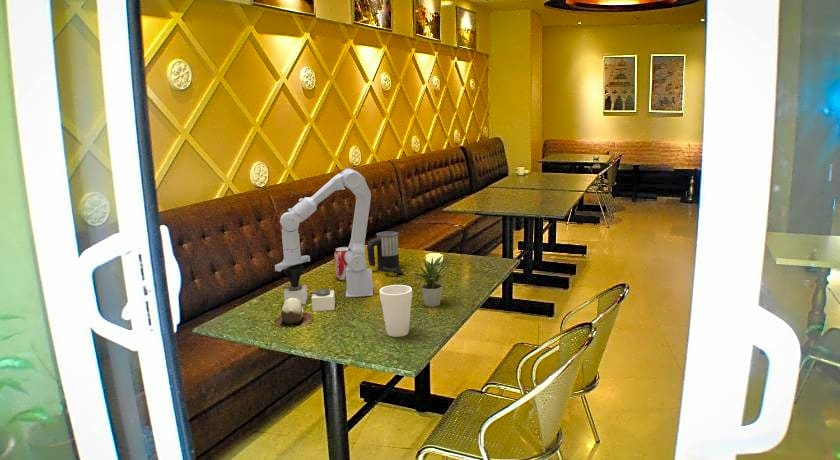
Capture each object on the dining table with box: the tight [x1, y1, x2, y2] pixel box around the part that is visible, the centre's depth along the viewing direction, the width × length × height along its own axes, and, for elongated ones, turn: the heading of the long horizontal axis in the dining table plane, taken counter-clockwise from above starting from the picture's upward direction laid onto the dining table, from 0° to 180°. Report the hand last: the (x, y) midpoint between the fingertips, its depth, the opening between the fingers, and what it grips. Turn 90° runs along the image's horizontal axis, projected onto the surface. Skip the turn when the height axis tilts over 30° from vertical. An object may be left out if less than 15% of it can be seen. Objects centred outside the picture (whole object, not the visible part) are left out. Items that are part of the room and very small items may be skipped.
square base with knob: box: [283, 284, 309, 305], centre depth 196 cm, size 7×7×4 cm
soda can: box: [333, 246, 349, 282], centre depth 220 cm, size 7×7×12 cm
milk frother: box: [366, 230, 404, 275], centre depth 228 cm, size 14×16×15 cm
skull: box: [273, 298, 314, 328], centre depth 178 cm, size 12×10×10 cm
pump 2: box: [309, 288, 331, 296], centre depth 189 cm, size 6×5×4 cm
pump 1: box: [282, 283, 303, 291], centre depth 196 cm, size 6×5×4 cm
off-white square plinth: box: [310, 289, 336, 312], centre depth 189 cm, size 7×7×4 cm
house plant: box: [408, 255, 450, 307], centre depth 188 cm, size 14×14×16 cm
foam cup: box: [379, 284, 413, 338], centre depth 164 cm, size 10×9×13 cm
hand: (294, 286), depth 195 cm, fingers closed, pressing on pump 1
